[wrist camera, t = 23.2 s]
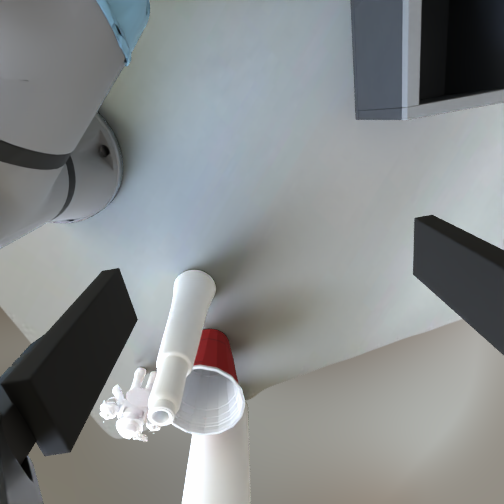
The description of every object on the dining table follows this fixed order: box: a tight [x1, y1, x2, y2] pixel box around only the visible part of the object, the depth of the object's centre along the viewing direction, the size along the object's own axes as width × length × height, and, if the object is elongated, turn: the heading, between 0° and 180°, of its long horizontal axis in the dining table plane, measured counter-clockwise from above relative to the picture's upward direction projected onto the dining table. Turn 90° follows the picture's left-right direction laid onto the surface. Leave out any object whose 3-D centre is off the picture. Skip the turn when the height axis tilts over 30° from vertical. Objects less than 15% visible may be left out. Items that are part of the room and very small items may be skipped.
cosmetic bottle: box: [147, 270, 216, 426], centre depth 37 cm, size 6×6×22 cm
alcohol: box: [182, 401, 251, 504], centre depth 42 cm, size 9×9×30 cm
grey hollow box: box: [351, 0, 504, 120], centre depth 31 cm, size 13×11×12 cm
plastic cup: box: [171, 329, 246, 436], centre depth 45 cm, size 11×11×12 cm
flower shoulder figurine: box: [100, 368, 160, 442], centre depth 47 cm, size 9×4×12 cm, turn 67°
